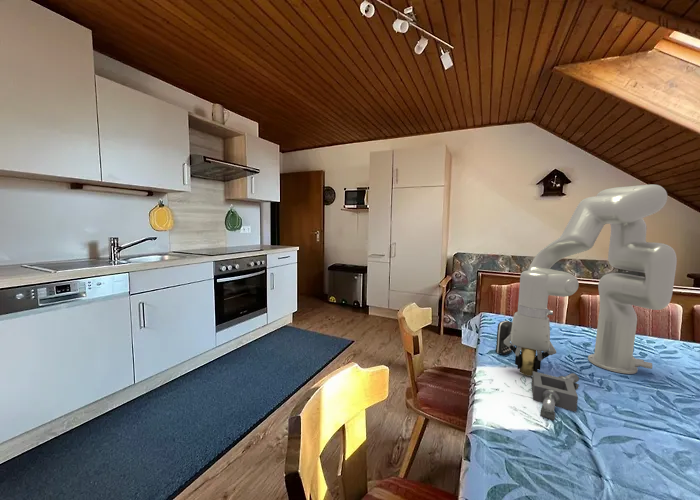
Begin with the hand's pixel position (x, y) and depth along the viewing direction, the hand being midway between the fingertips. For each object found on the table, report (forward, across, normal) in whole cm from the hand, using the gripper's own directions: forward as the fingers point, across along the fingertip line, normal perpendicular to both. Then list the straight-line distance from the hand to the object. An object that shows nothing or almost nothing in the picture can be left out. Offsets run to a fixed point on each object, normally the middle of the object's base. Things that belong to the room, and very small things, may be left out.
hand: (527, 368), depth 91 cm
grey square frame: (+2, -6, +10) cm, 12 cm away
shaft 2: (+2, -10, +3) cm, 11 cm away
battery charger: (+2, +6, -15) cm, 16 cm away
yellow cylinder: (+1, 0, 0) cm, 1 cm away
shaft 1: (+2, -4, +19) cm, 19 cm away
